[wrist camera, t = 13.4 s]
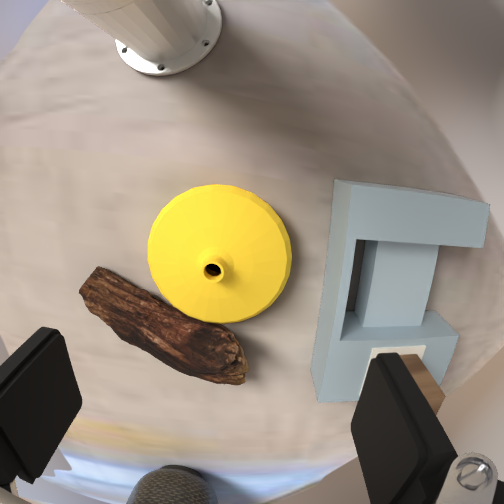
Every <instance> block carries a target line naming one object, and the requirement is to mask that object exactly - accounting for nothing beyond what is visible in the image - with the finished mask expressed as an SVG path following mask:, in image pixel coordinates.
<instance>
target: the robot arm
mask: <svg viewBox="0 0 504 504" xmlns="http://www.w3.org/2000/svg"><path fill="white" fill-rule="evenodd" d="M60 1H61V2H63V3H64V4H66V5H68V6H69V7H71V8H72V9H74V10H75V11H76V12H78V13H79V14H81V15H82V16H84V17H85V18H87V19H88V20H89V21H91V22H92V23H94V24H95V25H97V26H98V27H99V28H101V29H102V30H104V31H105V32H107V33H108V34H109V35H111V36H112V37H113V38H115V39H116V46H117V50H118V52H119V55H120V57H121V58H122V59H123V60H124V62H125V63H126V64H128V65H129V66H130V67H131V68H133V69H135V70H136V71H138V72H141V73H144V74H147V75H154V76H163V75H170V74H175V73H178V72H181V71H184V70H186V69H188V68H190V67H192V66H194V65H195V64H197V63H198V62H199V61H201V60H202V59H203V58H204V57H205V56H206V55H207V54H208V53H209V52H210V51H211V50H212V48H213V47H214V45H215V44H216V42H217V40H218V38H219V36H220V33H221V28H222V15H221V11H220V8H219V6H218V3H217V1H216V0H60ZM209 5H211V6H209ZM205 44H209V45H208V46H205ZM126 51H127V52H126ZM163 67H165V69H164V70H162V68H163ZM81 406H82V397H81V394H80V391H79V388H78V385H77V381H76V378H75V375H74V372H73V368H72V365H71V362H70V358H69V354H68V351H67V347H66V343H65V339H64V337H63V336H62V335H61V334H60V332H59V331H58V330H57V329H52V328H47V327H41V328H40V329H38V330H37V331H36V332H35V333H34V334H33V335H32V336H31V337H30V338H29V339H28V340H27V341H26V342H25V343H23V344H22V345H21V346H20V347H19V348H18V349H17V350H16V351H15V352H14V353H13V354H12V355H11V356H10V357H9V358H8V359H7V360H6V361H5V362H4V363H3V364H2V365H1V366H0V504H31V503H29V502H27V501H25V500H23V499H21V498H19V495H18V492H17V487H16V483H15V477H16V476H17V475H18V477H19V478H20V479H22V480H24V481H26V482H28V483H30V484H33V483H34V481H35V479H36V478H39V477H40V476H41V475H42V473H43V471H44V469H45V468H46V466H47V464H48V462H49V461H50V459H51V457H52V455H53V454H54V452H55V450H56V449H57V447H58V445H59V443H60V442H61V440H62V438H63V437H64V435H65V433H66V432H67V430H68V428H69V427H70V425H71V423H72V422H73V420H74V418H75V417H76V415H77V413H78V412H79V410H80V409H81ZM351 432H352V436H353V440H354V443H355V447H356V450H357V454H358V457H359V461H360V465H361V468H362V472H363V476H364V479H365V483H366V487H367V490H368V495H369V498H370V503H371V504H504V482H502V481H500V480H498V479H497V478H498V472H497V469H496V466H495V465H494V463H493V462H492V461H491V460H490V459H489V458H487V457H486V456H484V455H482V454H479V453H465V454H463V455H460V456H458V455H457V453H456V451H455V449H454V447H453V446H452V444H451V442H450V440H449V438H448V436H447V435H446V433H445V431H444V429H443V427H442V426H441V424H440V422H439V420H438V419H437V417H436V415H435V413H434V411H433V410H432V408H431V406H430V405H429V403H428V401H427V399H426V398H425V396H424V395H423V393H422V392H421V390H420V388H419V387H418V385H417V383H416V382H415V380H414V378H413V377H412V375H411V373H410V372H409V370H408V368H407V367H406V365H405V364H404V362H403V360H402V359H401V357H400V356H399V354H398V353H396V352H392V353H379V354H377V356H376V358H372V359H371V361H370V364H369V367H368V371H367V374H366V378H365V381H364V384H363V388H362V391H361V394H360V397H359V400H358V403H357V406H356V409H355V412H354V415H353V418H352V422H351Z"/></svg>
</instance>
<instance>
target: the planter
mask: <svg viewBox="0 0 504 504" xmlns="http://www.w3.org/2000/svg"><path fill="white" fill-rule="evenodd" d="M126 504H218V499H217V496H216V494H215V492H214V490H213V489H212V488H211V486H210V485H209V484H208V483H207V482H206V481H204V479H203V477H202V476H201V475H200V474H199V473H198V472H196V471H194V470H192V469H190V468H187V467H184V466H178V465H168V466H164V467H162V468H160V469H158V470H155V471H152V472H150V473H148V474H146V475H145V476H143V477H142V478H141V479H140V480H139V481H138V483H137V484H136V485H135V487H134V489H133V491H132V493H131V495H130V497H129V499H128V501H127V503H126Z"/></svg>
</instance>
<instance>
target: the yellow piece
mask: <svg viewBox="0 0 504 504" xmlns="http://www.w3.org/2000/svg"><path fill="white" fill-rule="evenodd" d="M291 261H292V252H291V245H290V238H289V236H288V233H287V231H286V229H285V227H284V224H283V222H282V220H281V219H280V217H279V216H278V215H277V214H276V213H275V211H274V210H273V209H272V208H271V206H270V205H269V204H267V203H266V202H265V201H263V200H262V199H260V198H259V197H258V196H256V195H255V194H253V193H251V192H249V191H246V190H243V189H240V188H238V187H235V186H228V185H217V184H212V185H206V186H201V187H196V188H192V189H190V190H188V191H186V192H184V193H182V194H180V195H178V196H176V197H175V198H174V199H173V200H172V201H171V202H170V203H169V204H168V205H166V206H165V207H164V208H163V209H162V211H161V212H160V214H159V215H158V217H157V219H156V220H155V222H154V224H153V226H152V229H151V233H150V236H149V240H148V263H149V267H150V271H151V274H152V278H153V280H154V281H155V283H156V285H157V287H158V289H159V290H160V292H161V294H162V295H163V296H164V297H165V298H166V299H167V300H168V301H169V302H170V303H171V304H172V305H173V306H174V307H175V308H177V309H178V310H180V311H181V312H183V313H185V314H186V315H188V316H190V317H193V318H195V319H198V320H201V321H204V322H210V323H219V324H226V323H234V322H241V321H243V320H246V319H249V318H251V317H254V316H256V315H258V314H259V313H261V312H262V311H264V310H265V309H266V308H268V307H269V306H270V305H272V303H273V302H274V301H275V300H276V298H277V297H278V296H279V295H280V294H281V292H282V291H283V289H284V286H285V284H286V282H287V280H288V277H289V275H290V268H291ZM208 264H216V265H218V266H219V267H220V269H221V273H220V272H215V271H212V270H210V269H208V268H207V267H206V265H208Z"/></svg>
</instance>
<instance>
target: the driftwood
mask: <svg viewBox="0 0 504 504" xmlns="http://www.w3.org/2000/svg"><path fill="white" fill-rule="evenodd" d="M79 294H81V295H82V297H83V300H84V302H85V305H86V307H87V308H88V310H89V311H90V312H91V313H92V314H94V315H96V316H98V317H99V318H100V319H101V320H103V321H104V322H105V323H106V324H107V325H108V326H110V327H111V328H112V329H113V331H114V332H115V333H116V334H117V335H118V337H119V338H120V339H121V340H123V341H126V342H128V343H129V344H131V345H134V346H137V347H139V348H141V349H142V350H144V351H146V352H148V353H150V354H151V355H153V356H154V357H155V358H157V359H159V360H160V361H162V362H163V363H165V364H166V365H168V366H170V367H172V368H173V369H175V370H177V371H179V372H181V373H184V374H186V375H189V376H194V377H197V378H200V379H203V380H207V381H210V382H213V383H216V384H231V385H240V384H243V383H244V382H245V379H244V377H245V374H244V373H246V372H248V371H249V366H248V362H247V359H246V357H245V355H244V350H243V348H242V347H241V345H240V344H239V343H238V341H237V340H236V338H235V337H234V334H233V333H231V332H230V331H229V330H228V329H227V328H225V327H224V326H222V325H221V324H219V323H210V322H204V321H201V320H198V319H195V318H193V317H190V316H188V315H186V314H185V313H183V312H181V311H180V310H178V309H177V308H175V307H173V306H171V305H168V304H166V303H163V302H161V301H159V300H157V299H154V298H152V297H151V296H150V294H149V292H147V291H146V290H143V289H138V288H136V287H135V286H133V285H131V284H130V283H128V282H127V281H126V280H124V279H122V278H120V277H119V276H117V275H115V274H113V273H112V272H111V271H109V270H107V269H105V268H102V267H99V266H98V267H96V269H95V270H94V272H93V273H92V274H91V275H90V277H89V278H88V279H87V280H86V281H85V283H84V284H83V285H82V287H81V288H80V290H79Z"/></svg>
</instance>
